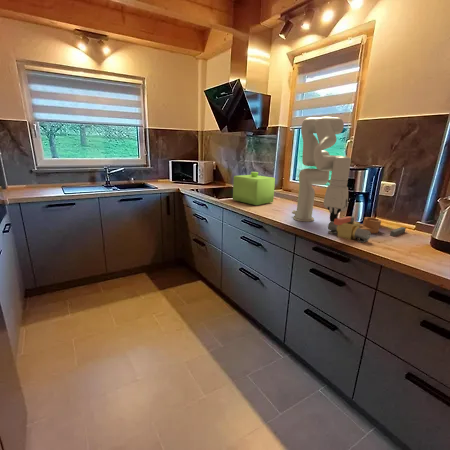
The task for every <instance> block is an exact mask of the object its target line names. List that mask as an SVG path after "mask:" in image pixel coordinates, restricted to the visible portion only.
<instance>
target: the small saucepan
mask: <svg viewBox="0 0 450 450" xmlns="http://www.w3.org/2000/svg"><path fill="white" fill-rule="evenodd" d="M381 223H382V220H381V219H379V218H376V217H371V216H370V217H369V216H365V217H364V219H363V223H360V226H359V227H360V228H361V229H364V230H368V231H370V232H371V234H378V233H379V231H380V227H381Z"/></svg>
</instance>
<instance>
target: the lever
mask: <svg viewBox="0 0 450 450" xmlns="http://www.w3.org/2000/svg"><path fill="white" fill-rule="evenodd" d="M354 221H355V217H354V216H347V215H346V216H344V217H340V218H339V217H337V218H336V219H334V224H335V225H342V224H343V223H347V222H354Z"/></svg>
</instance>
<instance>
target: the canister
mask: <svg viewBox="0 0 450 450" xmlns="http://www.w3.org/2000/svg"><path fill="white" fill-rule="evenodd" d="M232 183H233V184H232V186H233V187H232V201H237V202H241V203H245V204H249V205H252V206H253V205H254V206H260V205H264V204H269V203H273V202H274V197H275V196H274V195H275V185H276V178H275V177H271V176H265V175H259V172H257V171H250V174H242V175H234V176H233V181H232Z"/></svg>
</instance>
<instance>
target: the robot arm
mask: <svg viewBox="0 0 450 450" xmlns="http://www.w3.org/2000/svg"><path fill="white" fill-rule="evenodd" d="M344 127H345V125H344V120H343V119H342V118H341V117H334V116H333V117H332V116H321V117H307V118H305V119H303V120H302V123H301V128H300V131H301V132H300V133H301V138H302V157H301V161H302V164H303V166H305V167H309V168H303V169H301V170H300V171H299V173H298V195H297V196H298V197H297V202H296V203H297V204H296V210H292V212H291V214H293V216H292V217H293V220H294V221H298V222H302V223H303V222H304V223H306V222H307V223H311V222H314V221H315V218H314V217H313V210H314V202H315V195H316V194H315V193H316V192H315V189H314V188H313V186H315V185H317V186H319V185H320V186H321V185H322V186H325V185H327V184H328V185H327V187H326V190H325V193H324V199H323V206H324V208H326V209H327V210H328V211H329V222H331V221H332V222H334V219H336V218H338V215H339V213H341V212H346V211H347V207H348V202H349V187H348V182H349V181H348V180H349V174H350V168H351V163H352V159H351V158H350V157H349V156H343V155H330V153H329V152H328V151H327V150H328V149H329V148H332V147H333V146H334V145H335V144H336V143H337V136H336V135H339V134H341V133H342V132H343V130H344ZM315 134H316V135H315ZM316 136H317V137H316ZM326 149H327V150H326ZM310 167H316V168H310ZM330 172H331V175H330ZM312 185H313V186H312Z"/></svg>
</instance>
